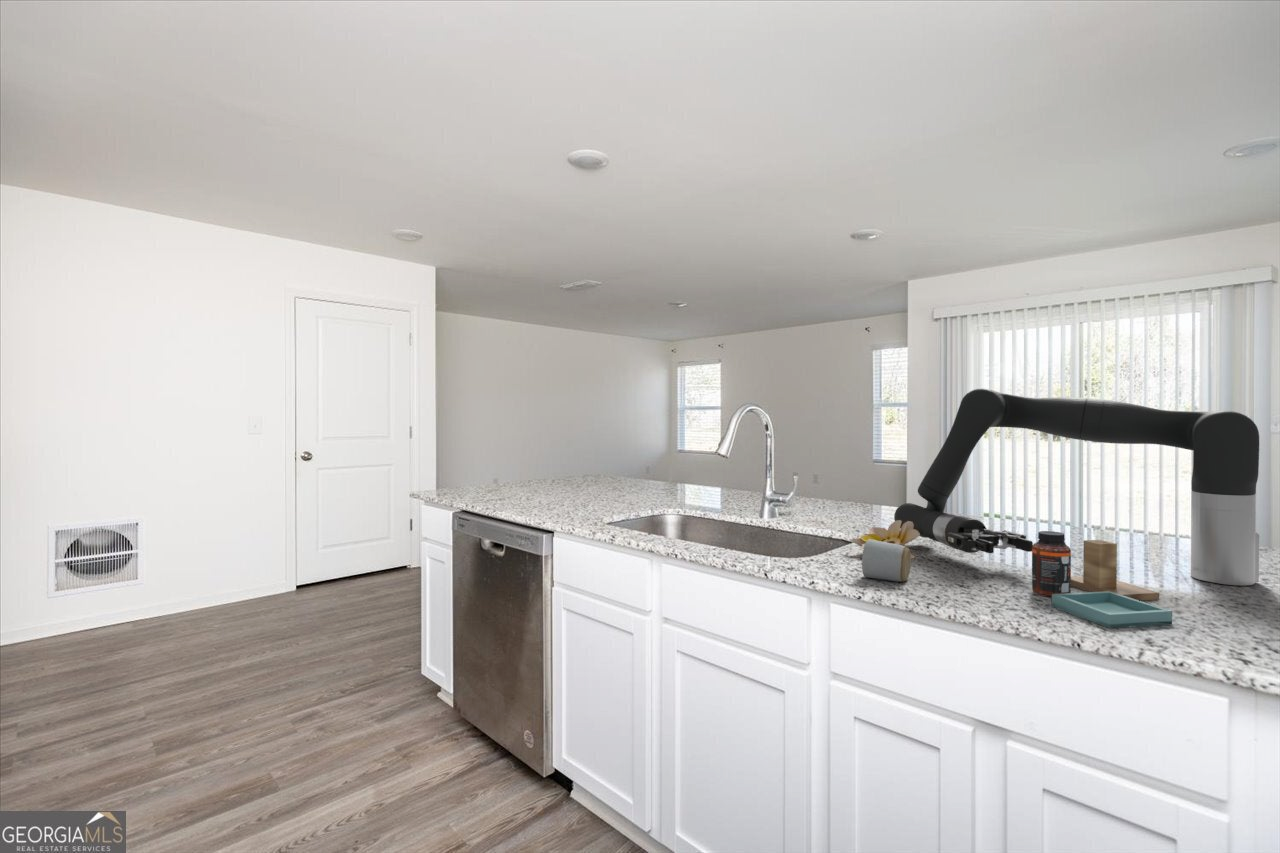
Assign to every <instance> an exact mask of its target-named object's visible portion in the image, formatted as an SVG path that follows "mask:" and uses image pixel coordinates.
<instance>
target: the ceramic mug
mask: <svg viewBox="0 0 1280 853" xmlns="http://www.w3.org/2000/svg"><path fill="white" fill-rule="evenodd" d="M861 559H862V560H861V571H862V574H863V577H865V578H868V579H875V580H882V581H891V582H899V583H901V582H906V581H907V580H908V578H909V575H910V572H911V567H912V566H911V562H912V559H911V550H910V549H909V547H907V546H902V545H898V544H893V543H887V542H881V541H877V540H871V539H868V540H867V541H866V543H865V545H864V547H863V550H862V557H861Z"/></svg>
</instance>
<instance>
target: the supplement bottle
mask: <svg viewBox="0 0 1280 853" xmlns="http://www.w3.org/2000/svg"><path fill="white" fill-rule="evenodd" d="M1037 538H1038V541H1037V542H1033V546H1032V552H1031V589H1032V591H1033V593H1035V594H1037V595H1039V596H1042V595H1043V596H1042V597H1047V596H1048V597H1049V598H1052V594H1064V593H1071V590H1072V586H1071V577H1072V567H1071V566H1072V559H1071V558H1072V550H1071V547H1069V545H1067V544H1066V542H1065V533H1064V532H1061V531H1060V532H1059V531H1054V530H1053V531H1052V530H1051V531H1050V530H1041V531H1038V537H1037Z"/></svg>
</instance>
